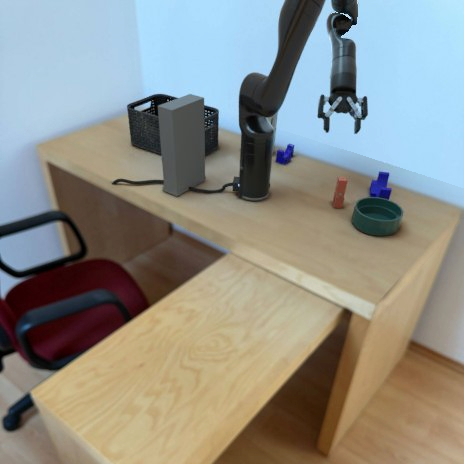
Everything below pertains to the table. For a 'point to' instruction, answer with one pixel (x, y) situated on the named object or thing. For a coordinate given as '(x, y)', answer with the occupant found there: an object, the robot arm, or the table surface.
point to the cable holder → (285, 154)
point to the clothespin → (340, 192)
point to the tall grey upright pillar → (182, 143)
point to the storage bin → (150, 124)
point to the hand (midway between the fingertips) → (342, 132)
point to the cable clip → (380, 186)
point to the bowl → (377, 216)
